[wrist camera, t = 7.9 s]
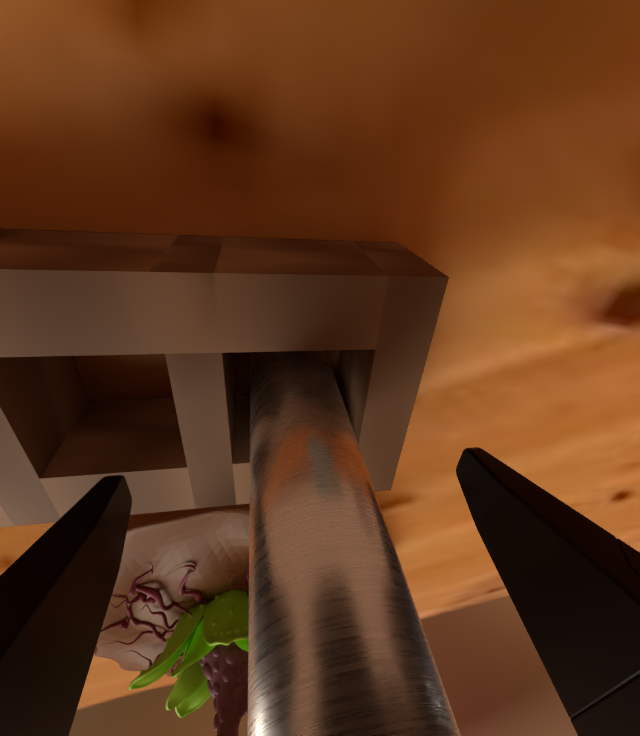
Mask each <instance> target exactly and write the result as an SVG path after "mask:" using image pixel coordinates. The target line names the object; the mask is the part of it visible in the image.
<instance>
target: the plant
mask: <svg viewBox="0 0 640 736" xmlns="http://www.w3.org/2000/svg"><path fill="white" fill-rule="evenodd" d="M249 518H250V503H249V504H239V505H228V506H218V507H207V508H197V509H187V510H176V511H166V512H155V513H145V514H134V515H130V518H129V523H128V528H127V533H126V539H125V544H124V549H123V554H122V560H121V564H120V569H119V573H118V576H117V580H116V583H115V586H114V590H113V593H112V596H111V599H110V603H109V606H108V609H107V612H106V616H105V619H104V622H103V625H102V629H101V632H100V635H99V638H98V642H97V645H96V649H95V656H98V657H104V658H109V659H112V660H115V661H116V662H118V663H119V665H120V667H121V668H122V669H124V670H129V671H141V672H140V675H139V676H138V677H137V678H136V679H134V680H133V681H132V682H131V684H130V685H129V688H128V690H131V689H137V688H142V687H145V686H147V685H150V684H152V683H153V682H155V681H156V680H158V679H159V678H161V677H162V676H163V675H164V674H166V675H167V676H170V677H178V679H177V681H176V683H175V685H174V687H173V689H172V691H171V693H170V694H169V696H168V698H167V702H166V709H167V710H171V709H173V708H175V711H176V713H177V715H178V716H179V717H180V718H181V717H184V716H186V715H187V714H189V713H191V712H193V711H195V710H196V709H198V708H199V707H200V706H201V705H203V704H204V702H206V700H207V699H208V698H209V697H210V696H212V697H213V698H215V699H214V710H215V712H216V715H215V717H214V729H215V731H217V736H238V727H239V723H240V720H241V717H242V716H243V715H244V714H245V715H248V636H249Z"/></svg>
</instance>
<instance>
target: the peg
mask: <svg viewBox="0 0 640 736" xmlns="http://www.w3.org/2000/svg"><path fill="white" fill-rule="evenodd" d="M248 736H461V735H460V732H459V729H458V726H457V724H456V721H455V718H454V715H453V712H452V709H451V706H450V704H449V701H448V698H447V695H446V692H445V689H444V687H443V684H442V681H441V678H440V675H439V672H438V670H437V667H436V664H435V661H434V658H433V655H432V652H431V650H430V647H429V644H428V641H427V638H426V635H425V633H424V630H423V627H422V624H421V621H420V618H419V615H418V613H417V610H416V607H415V604H414V601H413V598H412V596H411V593H410V590H409V587H408V584H407V581H406V579H405V576H404V573H403V570H402V567H401V564H400V561H399V559H398V556H397V553H396V550H395V547H394V544H393V542H392V539H391V536H390V533H389V530H388V527H387V524H386V522H385V519H384V516H383V513H382V510H381V507H380V505H379V502H378V499H377V496H376V493H375V490H374V488H373V485H372V482H371V479H370V476H369V473H368V470H367V468H366V465H365V462H364V459H363V456H362V453H361V451H360V448H359V445H358V442H357V439H356V436H355V434H354V431H353V428H352V425H351V422H350V419H349V416H348V414H347V411H346V408H345V405H344V402H343V399H342V397H341V394H340V391H339V388H338V385H337V382H336V379H335V377H334V374H333V371H332V368H331V365H330V362H329V360H328V357H327V354H326V351H278V352H251V401H250V518H249V636H248Z"/></svg>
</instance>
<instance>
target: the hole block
mask: <svg viewBox="0 0 640 736" xmlns="http://www.w3.org/2000/svg"><path fill="white" fill-rule="evenodd" d="M448 278H449V277H448V276H446V275H445V274H443V273H442V272H440V271H439V270H437V269H436V268H434V267H433V266H431V265H430V264H428V263H427V262H426V261H424V260H423V259H421V258H420V257H418V256H417V255H415V254H414V253H412V252H411V251H409V250H408V249H406V248H405V247H403V246H402V245H401V244H399V243H387V242H359V241H331V240H303V239H275V238H247V237H219V236H191V235H162V234H134V233H106V232H78V231H50V230H22V229H0V527H9V526H19V525H30V524H40V523H51V522H57V521H58V520H59V519H60V518H61V517H62V516H63V515H64V514H65V513H66V512H67V511H68V510H69V509H70V508H72V507H73V506H74V505H75V504H76V503H77V502H78V501H79V500H80V499H81V498H82V497H83V496H84V495H85V494H86V493H87V492H88V491H89V490H90V489H91V488H92V487H93V486H94V485H96V484H97V483H98V482H99V481H100V480H101V479H102V478H103V477H105V476H112V475H123V476H124V477H125V479H126V481H127V484H128V487H129V490H130V493H131V496H132V507H131V512H130V515H134V514H145V513H155V512H166V511H176V510H187V509H197V508H207V507H218V506H228V505H239V504H249V503H250V401H251V395H237V391H236V378H235V364H234V352H278V351H325V350H340V356H339V364H338V373H337V385H338V388H339V391H340V394H341V397H342V399H343V402H344V405H345V408H346V411H347V414H348V416H349V419H350V422H351V425H352V428H353V431H354V434H355V436H356V439H357V442H358V445H359V448H360V451H361V453H362V456H363V459H364V462H365V465H366V468H367V470H368V473H369V476H370V479H371V482H372V485H373V488H374V490H375V491H385V490H391V487H392V483H393V479H394V476H395V472H396V468H397V465H398V461H399V457H400V454H401V450H402V446H403V443H404V439H405V436H406V432H407V428H408V425H409V421H410V417H411V414H412V410H413V406H414V403H415V399H416V395H417V392H418V388H419V384H420V381H421V377H422V373H423V370H424V366H425V362H426V359H427V355H428V351H429V348H430V344H431V340H432V337H433V333H434V329H435V326H436V322H437V318H438V315H439V311H440V307H441V304H442V300H443V296H444V293H445V289H446V285H447V282H448ZM134 354H165V357H166V362H167V367H168V372H169V377H170V382H171V387H172V393H173V398H157V399H133V400H109V401H88V398H87V396H86V393H85V390H84V387H83V385H82V382H81V379H80V377H79V374H78V371H77V368H76V366H75V363H74V360H73V357H72V356H87V355H134Z"/></svg>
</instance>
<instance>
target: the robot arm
mask: <svg viewBox="0 0 640 736" xmlns="http://www.w3.org/2000/svg"><path fill="white" fill-rule="evenodd" d="M456 474H457V477H458V480H459V483H460V485H461V488H462V491H463V493H464V496H465V499H466V501H467V504H468V507H469V509H470V512H471V515H472V518H473V520H474V522H475V525H476V527H477V529H478V532H479V534H480V536H481V538H482V540H483V542H484V544H485V546H486V548H487V550H488V552H489V554H490V556H491V558H492V560H493V562H494V564H495V566H496V569H497V571H498V573H499V575H500V577H501V579H502V581H503V583H504V585H505V587H506V589H507V591H508V593H509V595H510V597H511V599H512V601H513V603H514V605H515V607H516V609H517V611H518V613H519V616H520V618H521V620H522V622H523V624H524V626H525V628H526V630H527V632H528V634H529V636H530V638H531V640H532V642H533V644H534V646H535V648H536V650H537V652H538V654H539V656H540V658H541V660H542V662H543V665H544V667H545V669H546V671H547V673H548V675H549V677H550V679H551V681H552V683H553V685H554V687H555V689H556V691H557V693H558V695H559V697H560V699H561V701H562V703H563V705H564V707H565V709H566V712H567V713H568V716H569V717H570V718H571V722H572V724H573V726H574V728H575V730H576V732H577V734H578V736H640V552H638V551H636V550H635V549H633V548H632V547H630V546H629V545H627V544H626V543H624V542H623V541H621V540H620V539H616V538H615V536H614V535H612V534H610V533H609V532H607V531H606V530H604V529H603V528H601V527H600V526H598V525H597V524H595V523H594V522H592V521H591V520H589V519H588V518H586V517H585V516H583V515H582V514H580V513H579V512H577V511H576V510H574V509H572V508H571V507H569V506H568V505H566V504H565V503H563V502H562V501H560V500H559V499H557V498H556V497H554V496H553V495H551V494H550V493H548V492H547V491H545V490H544V489H542V488H541V487H539V486H537V485H536V484H534V483H533V482H531V481H530V480H528V479H527V478H525V477H524V476H522V475H521V474H519V473H518V472H516V471H515V470H513V469H512V468H510V467H509V466H507V465H506V464H504V463H503V462H501V461H499V460H498V459H496V458H495V457H493V456H492V455H490V454H489V453H487V452H486V451H484V450H483V449H481V448H478V447H475V448H466V449H465V450H464V451H463V453H462V455H461V458H460V460H459V462H458V465H457V468H456ZM131 507H132V496H131V493H130V490H129V487H128V484H127V481H126V479H125V477H124V476H123V475H112V476H105V477H103V478H102V479H101V480H100V481H99V482H98V483H97V484H96V485H94V486H93V487H92V488H91V489H90V490H89V491H88V492H87V493H86V494H85V495H84V496H83V497H82V498H81V499H80V500H79V501H78V502H77V503H76V504H75V505H74V506H73V507H72V508H70V509H69V510H68V511H67V512H66V513H65V514H64V515H63V516H62V517H61V518H60V519H59V520H58V521H57V522H56V523H55V524H54V525H53V526H52V527H51V528H50V529H49V530H48V531H46V532H45V533H44V534H43V535H42V536H41V537H40V538H39V539H38V540H37V541H36V542H35V543H34V544H33V545H32V546H31V547H30V548H29V549H28V550H27V551H26V552H25V553H24V554H22V555H21V556H20V557H19V558H18V559H17V560H16V561H15V562H14V563H13V564H12V565H11V566H10V567H9V568H8V569H7V570H6V571H5V572H4V573H3V574H2V575H1V576H0V736H69V732H70V729H71V726H72V723H73V720H74V716H75V713H76V710H77V707H78V703H79V700H80V697H81V694H82V690H83V687H84V684H85V681H86V677H87V674H88V671H89V668H90V664H91V661H92V658H93V655H94V651H95V648H96V645H97V642H98V638H99V635H100V632H101V629H102V625H103V622H104V619H105V616H106V612H107V609H108V606H109V603H110V599H111V596H112V593H113V590H114V586H115V583H116V580H117V576H118V573H119V569H120V564H121V560H122V554H123V549H124V544H125V539H126V533H127V528H128V523H129V518H130V512H131Z"/></svg>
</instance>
